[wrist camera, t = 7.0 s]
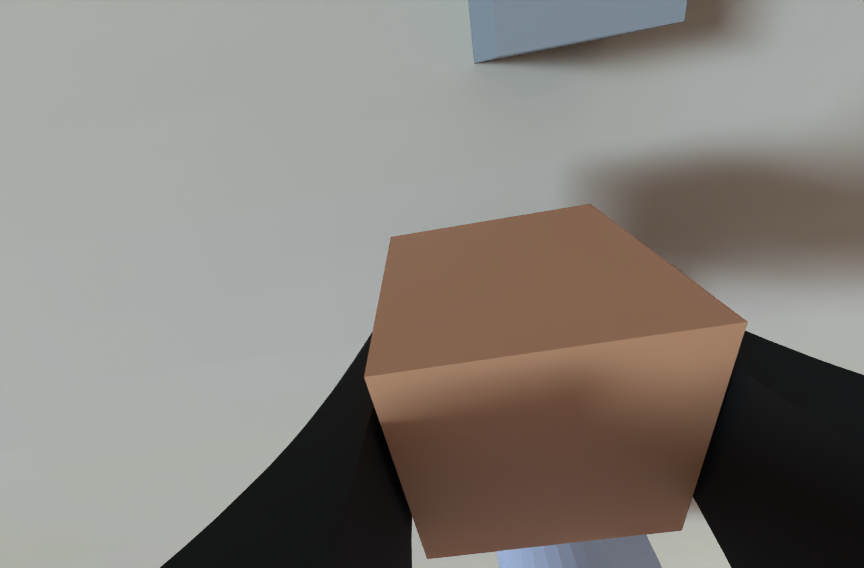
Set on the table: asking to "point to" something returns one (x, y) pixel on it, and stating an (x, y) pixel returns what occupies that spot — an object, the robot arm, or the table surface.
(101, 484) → the table surface
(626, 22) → the slate block
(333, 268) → the table surface
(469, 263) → the orange block
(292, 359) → the table surface
